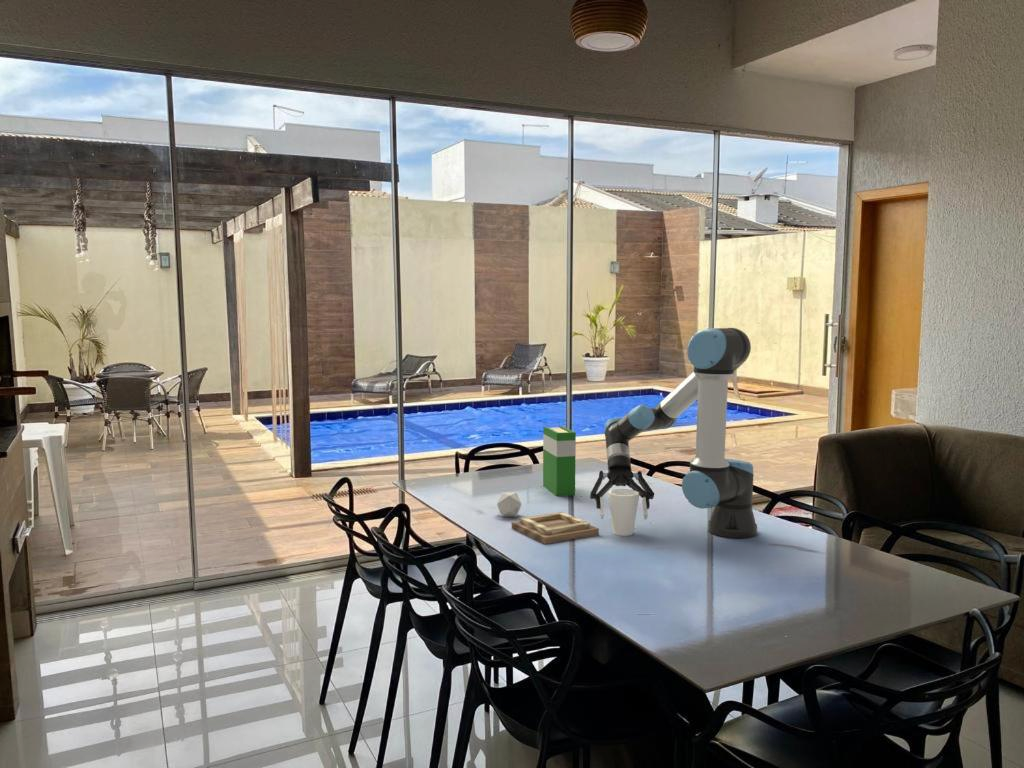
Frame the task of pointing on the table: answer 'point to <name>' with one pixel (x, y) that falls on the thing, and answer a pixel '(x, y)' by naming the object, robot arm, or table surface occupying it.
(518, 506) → the die
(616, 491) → the foam cup
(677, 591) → the table surface
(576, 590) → the table surface
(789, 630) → the table surface
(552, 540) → the base board
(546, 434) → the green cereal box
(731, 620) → the table surface
